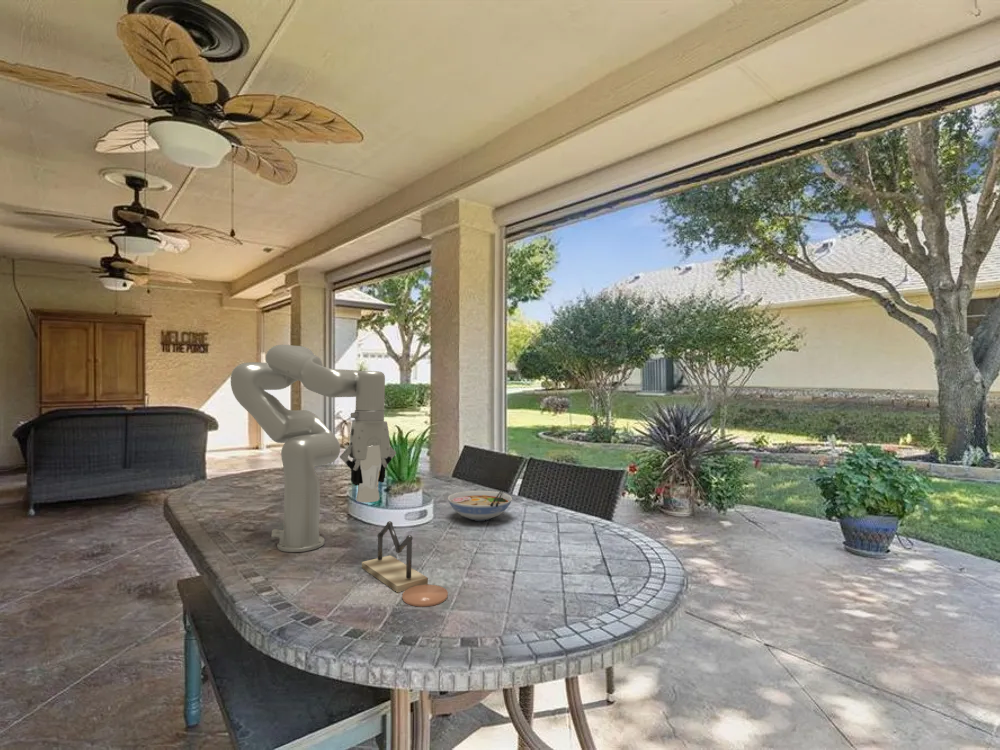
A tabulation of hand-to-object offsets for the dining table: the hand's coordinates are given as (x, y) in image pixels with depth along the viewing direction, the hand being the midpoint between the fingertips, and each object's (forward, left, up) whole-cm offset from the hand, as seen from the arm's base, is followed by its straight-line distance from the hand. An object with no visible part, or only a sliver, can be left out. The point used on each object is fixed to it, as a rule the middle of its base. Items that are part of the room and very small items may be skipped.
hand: (368, 482), depth 134 cm
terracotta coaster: (+21, -21, -20) cm, 36 cm away
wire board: (+11, -11, -20) cm, 25 cm away
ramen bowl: (+25, +43, -21) cm, 54 cm away
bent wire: (+11, -11, -19) cm, 24 cm away
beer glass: (0, 0, -5) cm, 5 cm away
